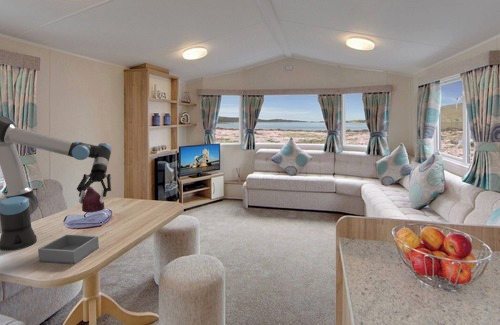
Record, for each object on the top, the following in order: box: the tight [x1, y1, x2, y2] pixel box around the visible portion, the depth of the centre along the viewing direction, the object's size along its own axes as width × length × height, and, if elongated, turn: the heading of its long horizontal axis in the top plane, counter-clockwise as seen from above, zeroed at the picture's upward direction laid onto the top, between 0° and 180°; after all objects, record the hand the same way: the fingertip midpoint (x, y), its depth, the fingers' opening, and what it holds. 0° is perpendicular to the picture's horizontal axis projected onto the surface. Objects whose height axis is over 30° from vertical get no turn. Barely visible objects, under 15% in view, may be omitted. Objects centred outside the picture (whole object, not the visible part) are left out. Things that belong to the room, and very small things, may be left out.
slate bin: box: [37, 234, 100, 266], centre depth 136 cm, size 17×17×6 cm
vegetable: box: [81, 185, 105, 213], centre depth 152 cm, size 10×10×15 cm
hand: (90, 202), depth 150 cm, fingers closed on vegetable, 9 cm apart
